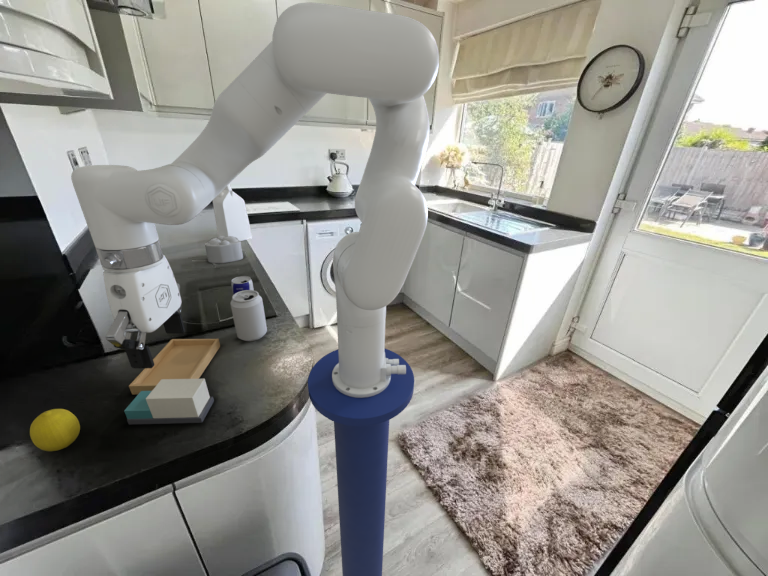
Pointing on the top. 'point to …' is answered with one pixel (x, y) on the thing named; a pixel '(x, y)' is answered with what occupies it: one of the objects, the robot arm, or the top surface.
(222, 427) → the top surface
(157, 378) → the wooden tray
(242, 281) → the energy drink
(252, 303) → the can
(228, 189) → the milk
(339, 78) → the robot arm
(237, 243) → the lumpy-topped squat cylinder
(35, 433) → the lemon
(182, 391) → the sneaker
